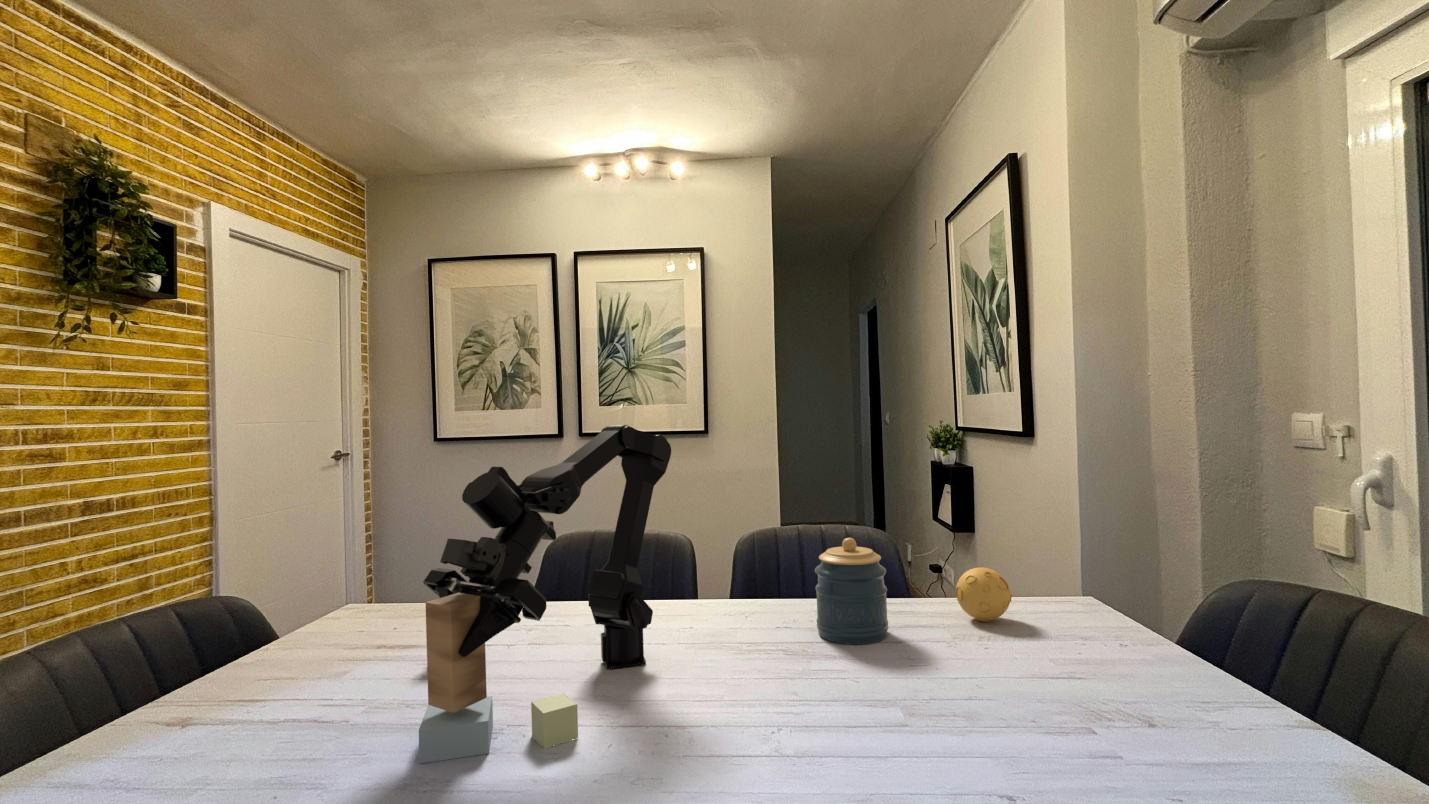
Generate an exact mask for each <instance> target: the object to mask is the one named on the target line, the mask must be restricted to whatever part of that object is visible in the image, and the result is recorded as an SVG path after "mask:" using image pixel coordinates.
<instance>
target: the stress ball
mask: <svg viewBox="0 0 1429 804" xmlns="http://www.w3.org/2000/svg"><path fill="white" fill-rule="evenodd" d="M955 597H956V599H957V602H958V604H959V606H960V608H961V609H962V610H963V612H965V613H966V614H967V615H968V616H970V617H971V618H974V619H975V620H976V621H978V622H983V623H990V622H992V620H996V619H998V618H1000V617H1002V615H1004V614H1005V613H1006V612H1007V610H1008V609H1009V607H1010V604H1011V602H1012V594H1011V588H1010V586H1009V584H1008V582H1007V580H1006V579H1005V578H1004V577H1003V576H1002V574H1000V573H999V572H997V571H996V570H993V569H991V568H987V567H983V566H982V567H974V568H971V569H968V570H966V571H965V572H964V573H963V574H962V575H961V576H960V577H959V579H958V581H957V583H956V587H955Z"/></svg>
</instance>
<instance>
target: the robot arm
mask: <svg viewBox="0 0 1429 804" xmlns="http://www.w3.org/2000/svg"><path fill="white" fill-rule="evenodd" d="M671 455H672V446H671V443H670V442H668V440H667V438H666V437H665V436H664V435H662V434H652V433H649V432H646V431H642V430H638V429H636V428H634V427H633V426H629V424H614V425H613V424H611V425H607V426H604V427H603V428H602V429H601V431H600V432H599V433H598V434H597V435H596V436H594V437H593V438H591V440H589V441H587V442H586V443H585V444H584V445H583V446H581V447H580V448H579V449H577V450H576V451H575V452H574V453H572V454H571V455H569V456H568V457H567V458H565V460H563V461H562V462H559V463H558V464H556V465H552V466H549V467H545V468H542V469H540V470H538V471H535V472H534V473H531V474H530V475H527V476H526V477H525V478H524V479H523V480H522V481H521V483H520V484H517V483H516V482H515V481H514V480H513V479H512V478H511V476H510V475H509V473H508V471H507V470H506V469H505V467H504V466H491V467H490V468H489V470H488V471H487V472H485V473H482V474H481V475H479V476H477V477H476V478H475V479H473V480H472V481H471V482H468V484H467V485H466V486H465V488H464V490H463V492H462V494H461V498H462V499H461V500H462V502H463V503H464V504H465V506H467V507H468V508H470V510H471V511H472V512H473V513H474V514H475V515H476V516H477V517H478V518H479V519H480V520H481V521H482V522H483V523H484V524H485V525H486V526H487V527H488V528H490V529H492V530H493V529H495V530H496V529H499V528H500V529H499V530H498V532H497V534H496V535H495V536H494V538H493V537H487V536H485V537H484V536H481V537H480V538H479V539H478V541H471V540H467V539H461V538H460V539H458V538H447V540H446V542H445V546H444V549H443V552H442V553H441V554H442V555H441V557H440V560H439V563H441V564H444V565H447V564H450V565H453V566H456V567H458V568H459V567H460V568H461V569H460V573H461V574H462V575H464V576H465V577H467V578H469V579H468V580H466V579H465V578H464V577H463V576H462V575H461V574H460V573H458V572H457V571H456V570H455V569H449V568H443V567H442V568H441V567H437V568H434V569H431V570H430V571H429V573H428V574H427V576H426V577H425V578H424V580H423V582H422V584H424V586H426V587H427V588H429V590H431V591H432V592H433V593H434V594H435V595H437V596H438V597H439V598H442V597H445V596H449V595H452V594H456V593H464V594H469V595H475V596H480V611H479V614H478V615H477V617H476V619H475V621H474V623H473V624H472V626H471V628H470V630H469V632H468V633H467V635H466V637H465V639H464V641H463V643H462V645H461V647H460V650H459V654H460V655H461V656H462V657H466V656H467V655H469V654H470V653H471V652H473V651H474V650H476V649H477V648H478V647H480V646H481V645H482V644H484V643H485V644H486V643H487V642H488V641H489V640H491V639H493V638H494V637H495V636H497V635H498V634H500V633H501V632H503V631H505V630H506V629H508V628H509V627H511V626H512V625H514V624H519V623H520V622H521V621H522V619H521V618H520V616H519V615H520V614H521V612H522V616H523V618H524V619H527V620H532V621H537V622H540V621H541V620H542V617H543V615H544V614H545V611H546V610H547V598H546V597H545V595H544V594H542V592H540V591H539V590H538V589H537V588H536V587H535V586H534V585H533V584H532V583H531V582H530V581H529V580H528V579H522V578H519V577H520V576H521V574H529V573H530V571H531V570H532V568H533V567H532V565H530V564H529V563H528V562H529V561H530V559H531V558H532V556H533V554H534V553H535V551H536V549H537V548H538V546H539V544H540V543H541V541H542V540H548V541H555V540H557V533H556V530H555V527H554V521H552V520H549V521H548V520H545V519H544V517H543V516H542V515H541V514H548V515H563V514H564V513H566V512H568V511H569V510H570V508H571V507H572V506H573V505H574V503H575V502H576V501H577V500H578V499H579V497H580V496H581V492H582V487H583V486H584V484H585V483H587V482H588V481H589V480H590V479H591V478H593V476H595V475H596V474H597V473H598V472H599V471H601V470H602V469H603V468H604V467H606V465H608V464H609V463H610V462H611V461H612V460H614V459H615V458H616V457H619V458H621V462H620V463H621V464H620V465H621V468H622V469H621V470H622V472H623V475H624V478H625V485H624V489H623V494H622V498H621V503H620V508H619V510H618V511H619V513H618V517H617V521H616V526H615V529H614V535H613V539H612V544H611V547H610V548H611V549H610V553H609V557H608V560H607V563H606V564H605V565H604V566H603V567H602V569H600V570H599V569H594V570H593V572H592V574H591V582H590V586H589V589H588V591H587V595H588V607H589V608H590V609H591V613H592V617H593V620H594V624H595V625H602V626H603V632H601V633H600V651H601V653H600V656H601V660H602V662H603V663H604V664H605V668H606V669H608V670H610V669H618V668H623V667H626V668H627V667H633V666H642V665H645V664H647V661H646V658H645V652H644V649H645V648H644V629H647V628H648V626H649V625H650V624H652V620H653V615H654V614H653V613H654V611H653V609H652V608H651V607H650V606H649V604H648V603H647V602H646V601H645V600H644V598H642V593H643V581H642V580H641V576H640V572H639V570H638V564H639V559H640V555H641V550H642V546H643V539H644V536H645V535H644V534H645V531H646V527H647V521H648V515H649V510H650V507H651V501H652V497H653V490H654V488H655V485H656V484H657V483H658V482H659V481H660V480H661V478H662V477H663V476H664V475H665V474H666V471H667V469H668V466H669V463H670V460H671Z"/></svg>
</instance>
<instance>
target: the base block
mask: <svg viewBox="0 0 1429 804" xmlns="http://www.w3.org/2000/svg"><path fill="white" fill-rule="evenodd" d="M493 704H494V703H493V695H490V696H487V698H485V699H483V700H481V701H479V702H476V703H474V704H472V705H470V706H468V707H465V708H463V709H461V710H459V711H457V712H455V713H452V712H449V711H446V710H443V709H440V708H437V707H434V706H431V705H427V708H426V710H425V712H424V715H423V718H422V721H421V723H420V726H419V729H418V753H419V754H418V755H419V756H418V760H419V762H418V763H419V764H426V763H432V762H433V763H435V762H440V761H445V760H446V761H447V760H454V759H460V758H461V759H462V758H468V757H474V756H476V757H477V756H481V755H488V754H490V749H491V741H492V736H493V735H492V734H493V728H494V714H493V713H494V712H493V711H494V709H493V706H494V705H493Z"/></svg>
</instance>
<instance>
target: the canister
mask: <svg viewBox="0 0 1429 804" xmlns="http://www.w3.org/2000/svg"><path fill="white" fill-rule="evenodd" d="M818 559H819V560H820V561H821V562H820V564H819V565H817V566H816V567H815V568H814V573H815V574H816V576H817V584H816V585H815V591H816V610H817V613H816V615H817V617H816V627H817V631H818V635H819V636H820V637H821V638H822V639H825V640H827V641H830V642H834V643H838V644H846V645H866V644H873V643H876V642H881V641H883V640H885V638H886V637H887V636H888V630H889V620H888V611H887V610H888V608H887V607H888V605H887V603H888V601H887V592H888V588H887V586H886V585H885V580H884V576H885V575H886V573H887V569H886V568H885V566H883V565H881V564H880V561H881V560H882V556H881V555H880V554H878V553H876V552H875V551H874V550H873V549H871V548H868V547H863V546H858V545H857V542H856V540H855V539H854V538H852V537H846V538H844V539H843V540H842V543H841V546H835V547H830V548H827V549H826V550H825V551H824V552H823V553H821V554H819V556H818Z"/></svg>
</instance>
